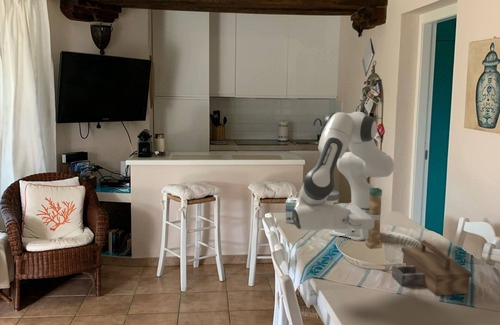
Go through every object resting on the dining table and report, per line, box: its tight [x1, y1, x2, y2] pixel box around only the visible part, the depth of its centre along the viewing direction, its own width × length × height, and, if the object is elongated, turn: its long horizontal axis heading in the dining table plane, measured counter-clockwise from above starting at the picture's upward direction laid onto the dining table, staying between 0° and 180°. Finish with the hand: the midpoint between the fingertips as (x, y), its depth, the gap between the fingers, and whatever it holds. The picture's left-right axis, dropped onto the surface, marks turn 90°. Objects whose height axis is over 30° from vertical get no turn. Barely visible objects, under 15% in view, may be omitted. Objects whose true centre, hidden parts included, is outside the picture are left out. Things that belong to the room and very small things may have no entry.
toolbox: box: [391, 240, 473, 296], centre depth 181 cm, size 21×27×12 cm
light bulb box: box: [285, 196, 298, 224], centre depth 255 cm, size 11×7×11 cm, turn 168°
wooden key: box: [364, 187, 383, 250], centre depth 175 cm, size 4×4×21 cm
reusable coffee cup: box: [326, 189, 340, 205], centre depth 253 cm, size 13×12×15 cm
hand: (377, 215), depth 175 cm, fingers closed on wooden key, 3 cm apart
